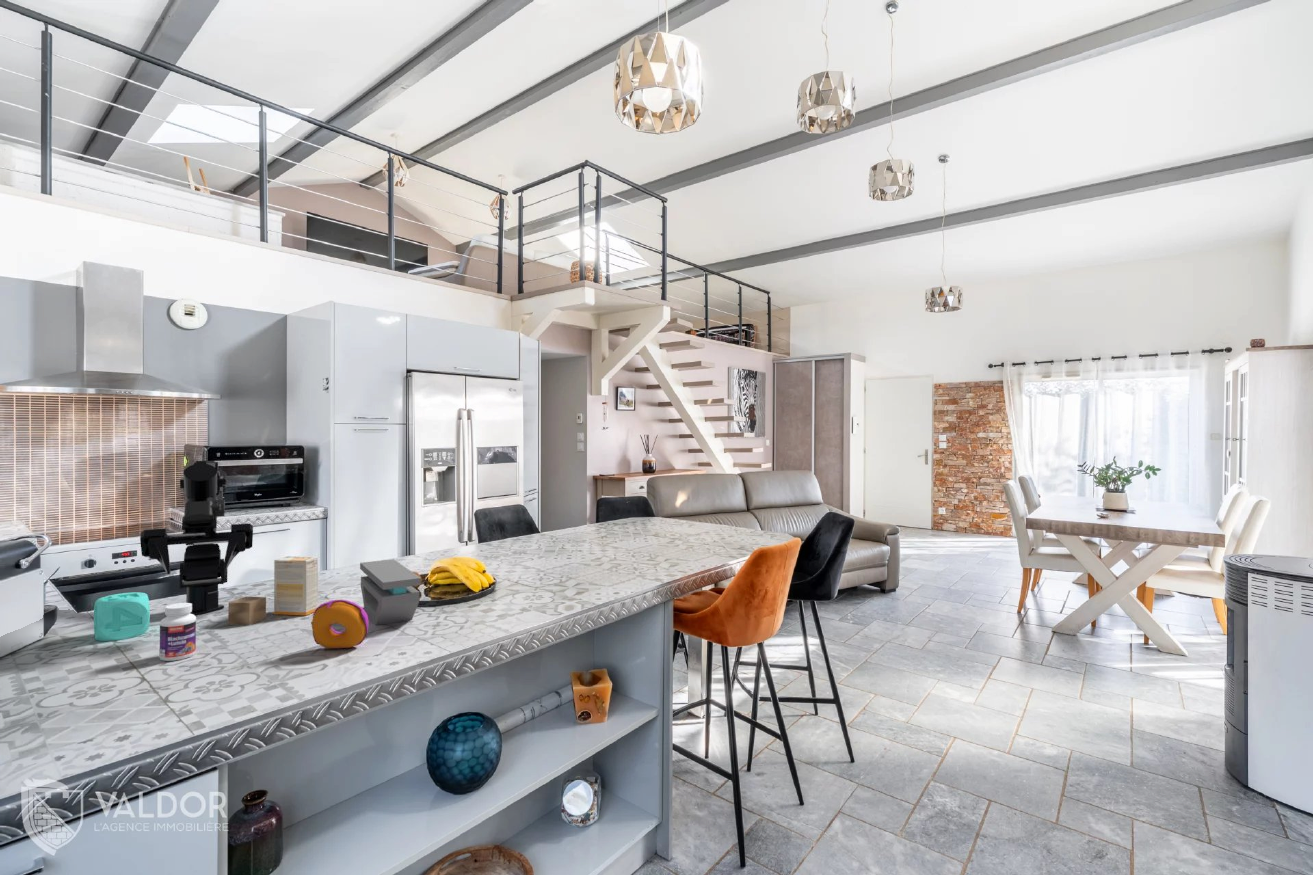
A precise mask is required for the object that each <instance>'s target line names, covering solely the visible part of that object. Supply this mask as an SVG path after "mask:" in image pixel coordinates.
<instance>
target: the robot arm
mask: <svg viewBox="0 0 1313 875" xmlns="http://www.w3.org/2000/svg"><path fill="white" fill-rule="evenodd" d="M179 489H180V492H181V493H184V495H185V502H184V514H183V516H182V518H181V530H182V532H181V533H179V532H178V533H168V532H167V531H168V530H167V527H166V528H165V527H164V528H148V529H143V531H141V532H140V538H139V540H140V551H141V556H142V557H145V558H148V557H149V559H152V560H157V561H158V562H159V563H160V565H161V566H162V567H163V569H164V571H165V574H166V575H171V562H170V553H169V546H175V545H185V546H186V547H185V552H184V553H183V554H184V556H183V561H182V562H179V589H181V590H182V589H184V588H185V589H186V592H185V593H186V598H185V599H186V602H185V603H191V604H192V612H190V614H193V615H195V616H196V615H201V614H206V613H210V612H213V611H217V610H221V609H225V605H222V604H219V585H224V584H225V583H228V568H229V566H230V565H231V563H232V561H233V560H234V559H235V558H236V557H237V556H238V554H239V553H241V552H242V553H243V552H245V551H246V550H249V549H251V548H253V540H254V539H253V537H254V526H253V524H251V523H236V524H234V523H232V524H230V531H224V532H222V531H221V532H219V531H218V532H217V529H218V528H217V526H218V525H217V523H218V518H219V517H225V516H226V514H225V507H226V506H225V505H226V502H225V501H226V500H225V499H223V496H224V495H223V494H227V472H225V471H224V470H223V469H222V468H220V467H219V462H218V461H215V460H195V462H193V464H191V465H189V466H187V467H186V468H185V469H184V470H183V476H181V478H180V479H179ZM223 543H224V544H225V543H227V545H226V546H227V547H226V551H225V556H224V558H222V557H221V555H222V554H221V552H222V551H221V549H220V545H219V544H223Z"/></svg>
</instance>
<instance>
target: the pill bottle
mask: <svg viewBox="0 0 1313 875" xmlns="http://www.w3.org/2000/svg"><path fill="white" fill-rule="evenodd" d="M190 612H192V604H191V603H186V602H178V603H172V604H167V606H165V609H164V615H165V616H166V617H164V618H162V619H161V621H159V622H160V623H159V652H158V654H159V656H158V658H159V660H161V661H164V662H174V661H181V660H184V659H188V658H190V657H192V656H194V655H195V654H196V650H197V649H196V647H197V646H196V645H197V643H196V642H197V617H196V615H195V614H190Z"/></svg>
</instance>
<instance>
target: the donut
mask: <svg viewBox="0 0 1313 875" xmlns="http://www.w3.org/2000/svg"><path fill="white" fill-rule="evenodd" d="M312 614H313V615H312V621H311V622H310V624H311V629H312V636H313V640H314V642H315V643H316V644H317V645H320V646H321V647H323V648H326V649H338V650H340V649H343V648H344V649H349V648H353V647H357V646H358V645H360V644H361V643H363V642H364V640H365V639H366V637H367V635H368V631H369V630H368V629H369V623H370V622H369V617H368V615H367V613H366V612H365V609H364V607H362V606H360V605H359V604H358V603H356V602H354V601H350V600H347V599H333V600H329V601H326V602H324V603H322V604H320V605H318V608H317V609H316V610H315V612H313V613H312ZM332 624H339V625H340V626H343V627H344V628H345V630H344V631H337V630H335V629H334V628H333V626H332Z"/></svg>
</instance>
